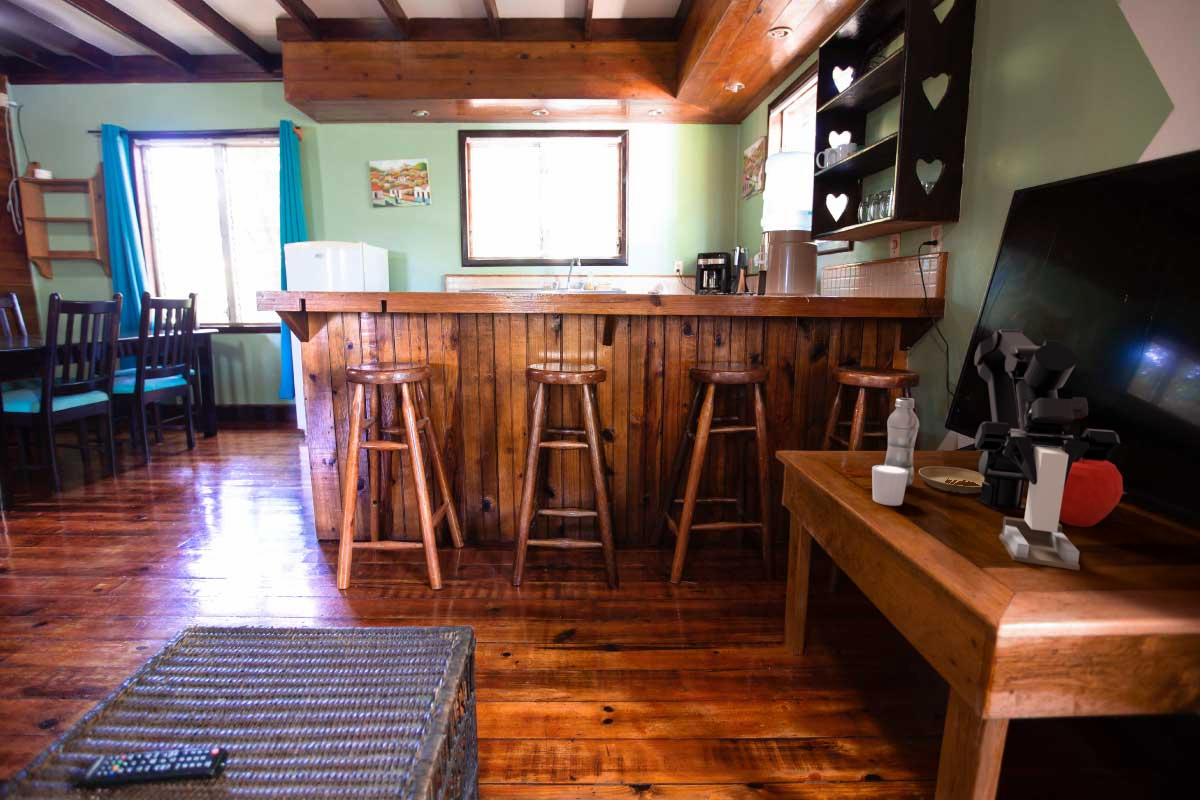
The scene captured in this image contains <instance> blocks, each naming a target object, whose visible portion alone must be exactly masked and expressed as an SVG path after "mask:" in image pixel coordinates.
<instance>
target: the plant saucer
mask: <svg viewBox="0 0 1200 800" xmlns="http://www.w3.org/2000/svg"><path fill="white" fill-rule="evenodd" d="M918 475H919V476H920V477H921V478H922V480H923V481H924V482H925V483H926V484H928V486H931V487H932V488H935V489H937V488H938V489H939V490H942V491H944V492H949V491H951V492H950V493H956V492H959V493H958V494H969V493H970V494H979V493H981V488H982V482H984V477H983V476H982V475H981V473H980V472H979V471H975V470H972V469H971V470H970V469H966V468H959V467H952V466H951V467H950V466H926V467H922V468H920V469H919V470H918ZM948 478H949V479H948ZM947 479H948V480H952V481H951V482H953V481H954V480H957V481H956V482H955V483H957V482H959V481H963V480H966V481H965V482H968V481H970V482H974V483H976V484H978V485H980V486H963V485H954V484H955V483H954V484H950V483H951V482H950V483H949V484H948V483H945V481H946V480H947ZM938 489H937V490H938ZM978 492H979V493H978Z"/></svg>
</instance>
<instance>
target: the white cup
mask: <svg viewBox="0 0 1200 800" xmlns="http://www.w3.org/2000/svg"><path fill="white" fill-rule="evenodd" d="M908 473H909V471H908V470H906V469H904V468H901V467H897V466H890V465H884V464H877V465H873V466H872V467H871V475H872V476H871V477H872V479H871V480H872V483H871V485H872V486H871V488H872V500H873V502H875V503H877V504H881V505H884V506H893V507H894V506H895V507H896V506H902V504H903V502H904V496H905V492H906V488H907V486H906V483H907V478H908Z"/></svg>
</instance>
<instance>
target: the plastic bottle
mask: <svg viewBox="0 0 1200 800" xmlns="http://www.w3.org/2000/svg"><path fill="white" fill-rule="evenodd" d="M894 406H895V410H894V411H893V412H892V413H890V415H889V416H888V419H887V422H886V425H887V450H886V456H885V460H884V464H883V465H890V466H897V467H901V468H904V469H906V470H908V471H909V473H908V478H907V483H906V487H909V486H911V484H912V483H913V482H914V478H915V469H914V452H915V451H914V450H915V443H916V439H917V435H918V432H919V428H920V420H919V418H918V416H917V414H916V413H915V412H914V410H913V409H915V399H914V398H909V397H897V398H896V399H895V404H894Z"/></svg>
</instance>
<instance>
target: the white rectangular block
mask: <svg viewBox="0 0 1200 800" xmlns="http://www.w3.org/2000/svg"><path fill="white" fill-rule="evenodd" d="M1033 446H1034V453H1033V459H1034V463H1035V468H1036V472H1037V483H1036V485H1033V484H1032V483H1031V482H1030V481H1028V482H1029V483H1028V490H1027V498H1026V505H1025V506H1026V510H1024V511H1025V512H1024V518H1023V519H1024V520H1025V521H1026V523H1027V524H1028V525H1029V527H1030V528H1031V529H1034V530H1042V531H1049V532H1057V529H1058V523H1059V522H1060V520H1059V516H1060V509H1061V502H1062V496H1063V489H1064V482H1065V476H1066V469H1067V462H1068V456H1069V455H1068V454H1067V453H1065V452H1064V451H1063V450H1061V449H1060V448H1058V447H1048V446H1036V445H1033Z"/></svg>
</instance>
